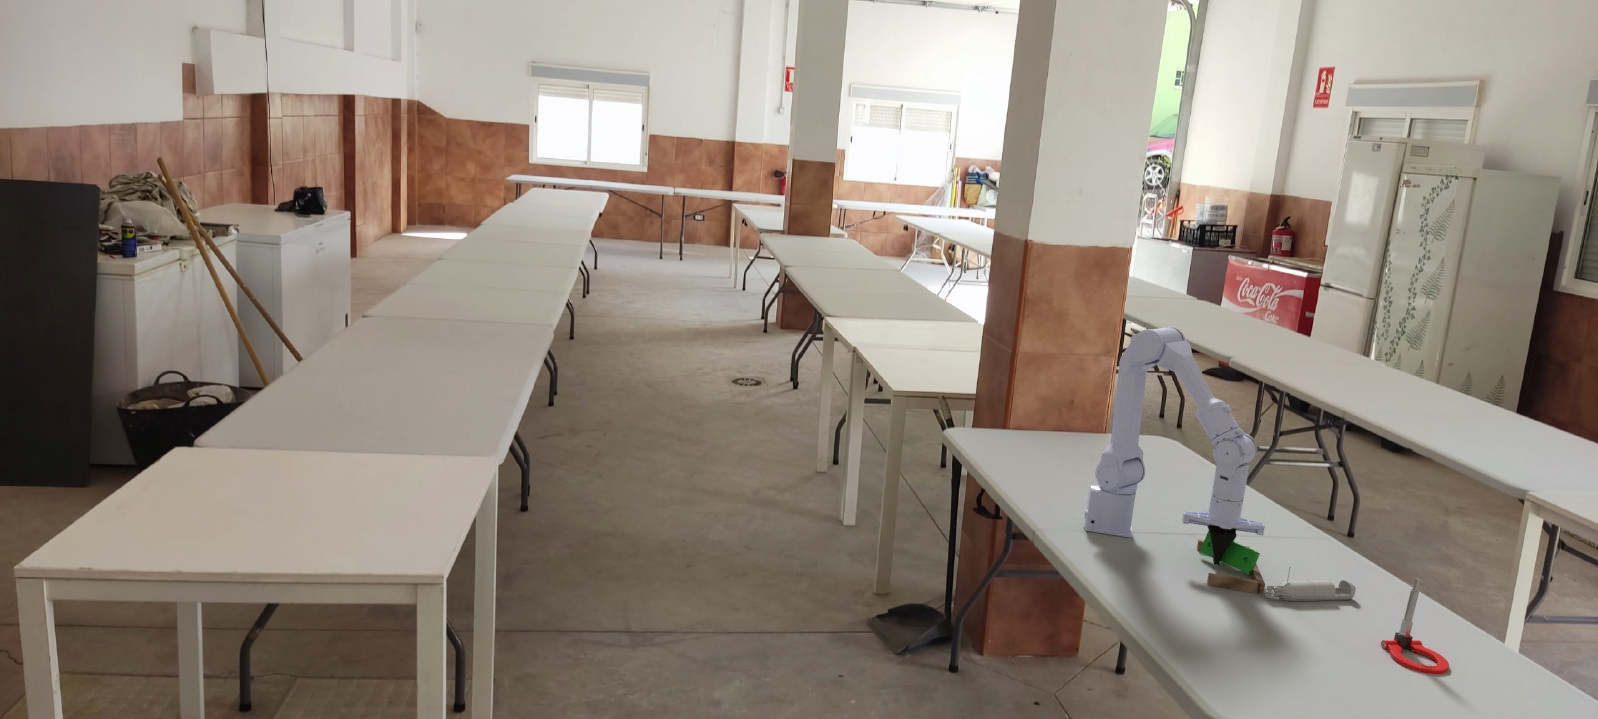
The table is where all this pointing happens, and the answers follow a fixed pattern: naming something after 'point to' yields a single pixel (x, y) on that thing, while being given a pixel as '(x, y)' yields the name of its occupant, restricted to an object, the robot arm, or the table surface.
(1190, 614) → the table surface
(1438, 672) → the tow hook
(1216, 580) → the walnut bay
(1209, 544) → the pipe clamp
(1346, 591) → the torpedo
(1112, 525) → the robot arm
